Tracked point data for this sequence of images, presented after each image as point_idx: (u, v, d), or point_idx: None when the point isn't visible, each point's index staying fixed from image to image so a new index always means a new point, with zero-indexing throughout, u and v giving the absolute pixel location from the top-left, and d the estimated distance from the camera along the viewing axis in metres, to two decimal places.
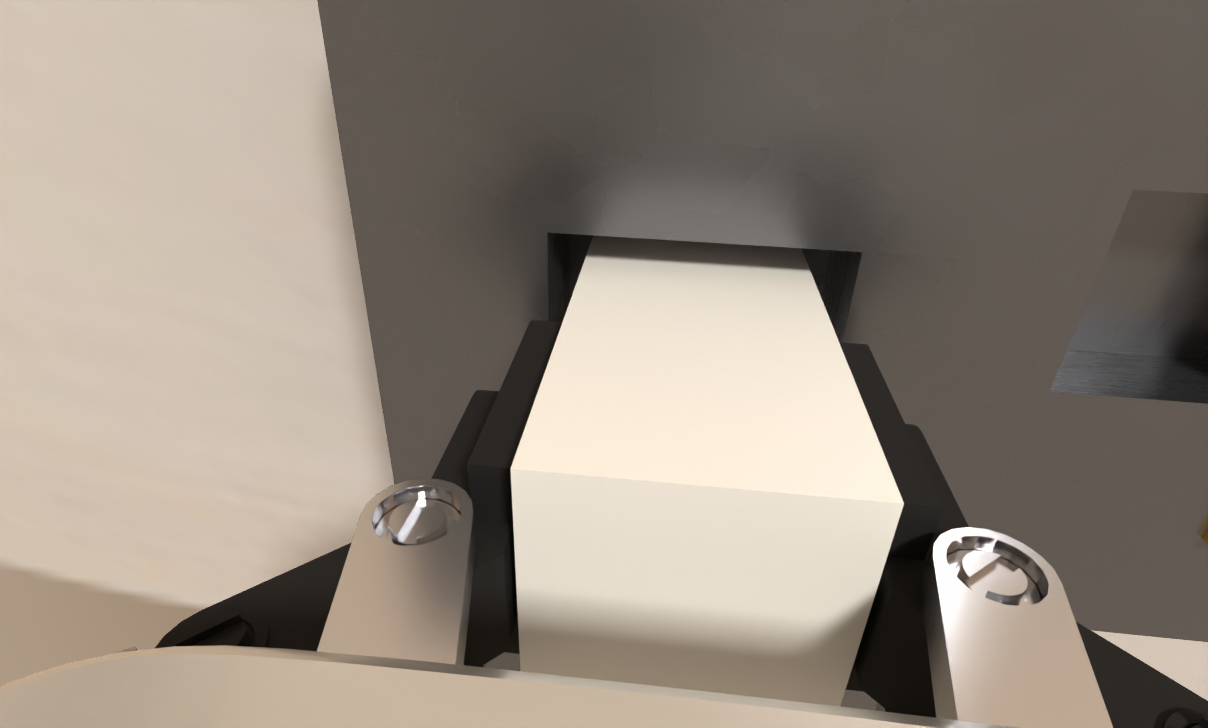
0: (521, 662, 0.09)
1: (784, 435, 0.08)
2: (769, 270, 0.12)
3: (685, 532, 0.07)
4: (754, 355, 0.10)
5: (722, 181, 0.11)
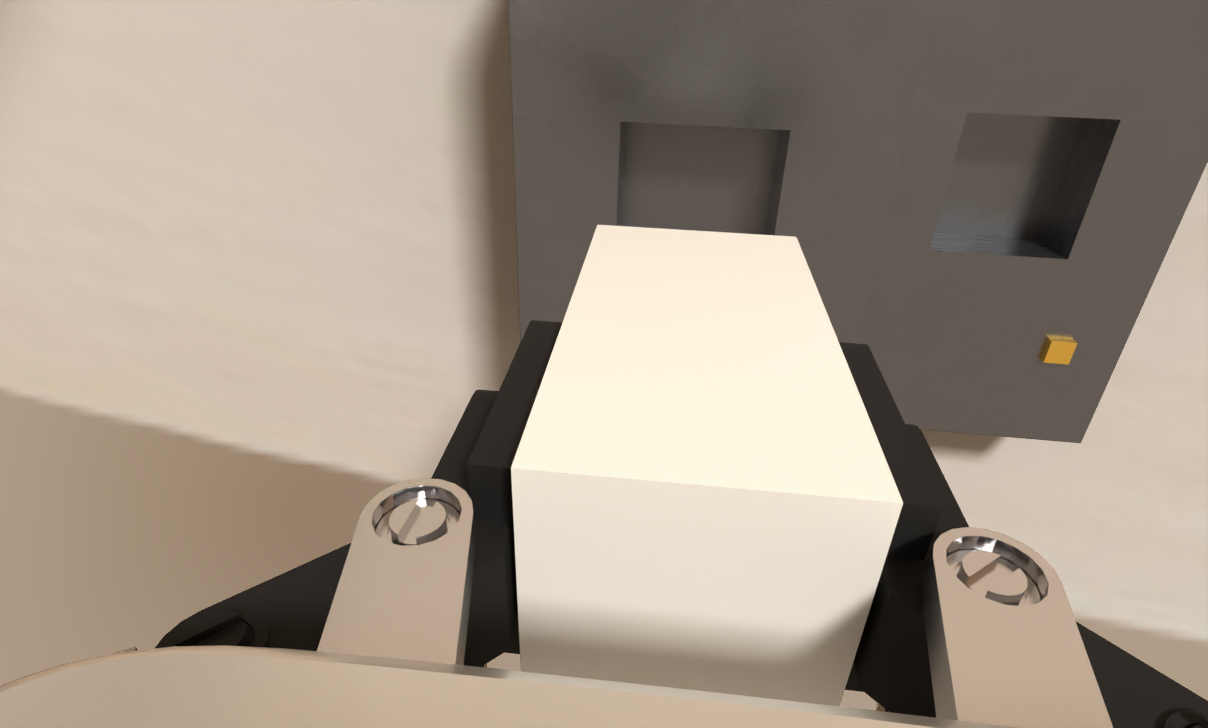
0: (521, 661, 0.09)
1: (784, 434, 0.08)
2: (769, 270, 0.12)
3: (685, 532, 0.07)
4: (754, 355, 0.10)
5: (715, 90, 0.21)
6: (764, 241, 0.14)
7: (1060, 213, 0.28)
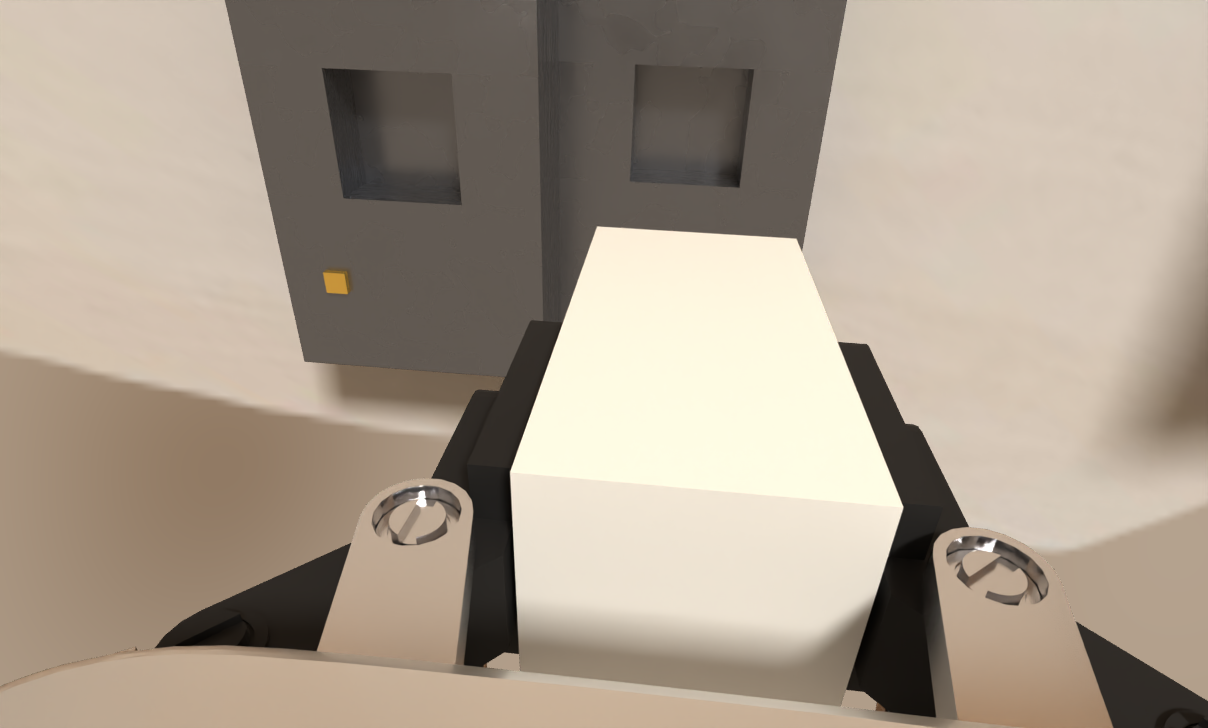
0: (521, 665, 0.09)
1: (784, 439, 0.08)
2: (769, 272, 0.12)
3: (685, 536, 0.07)
4: (753, 358, 0.10)
5: (388, 42, 0.27)
6: (764, 243, 0.14)
7: (740, 151, 0.34)
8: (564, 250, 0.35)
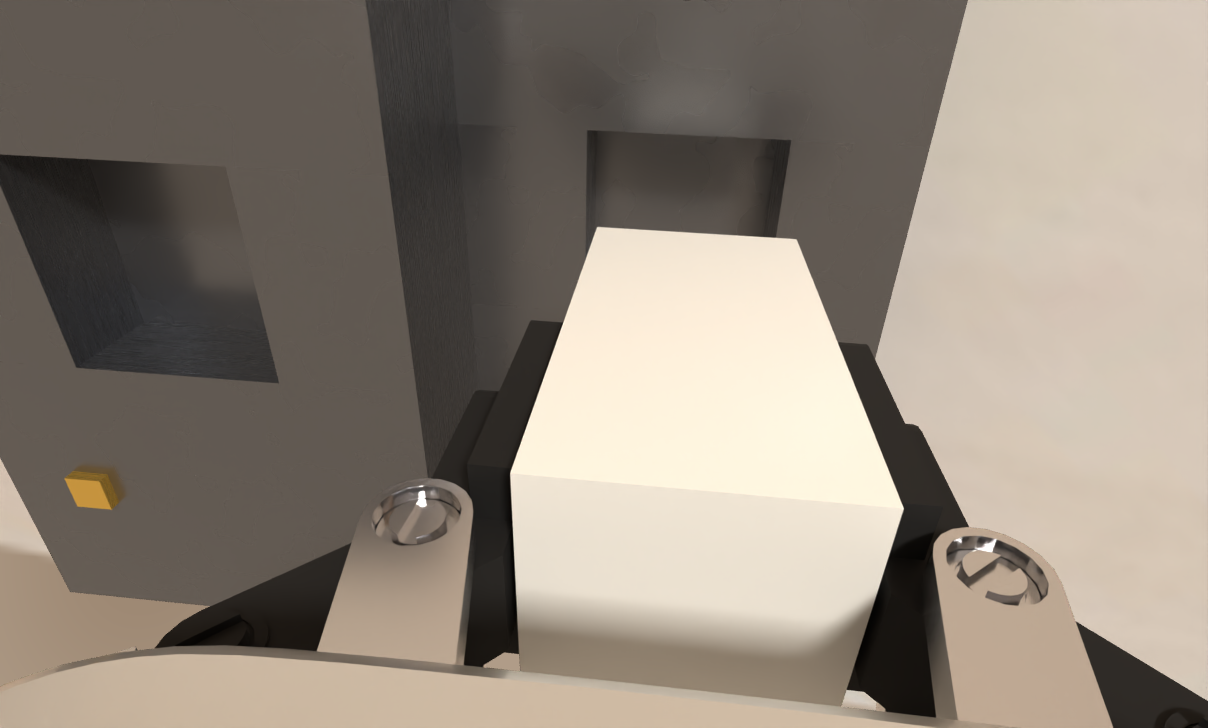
0: (521, 666, 0.09)
1: (784, 439, 0.08)
2: (769, 272, 0.12)
3: (685, 537, 0.07)
4: (754, 358, 0.10)
5: (97, 108, 0.14)
6: (764, 244, 0.14)
7: None
8: None
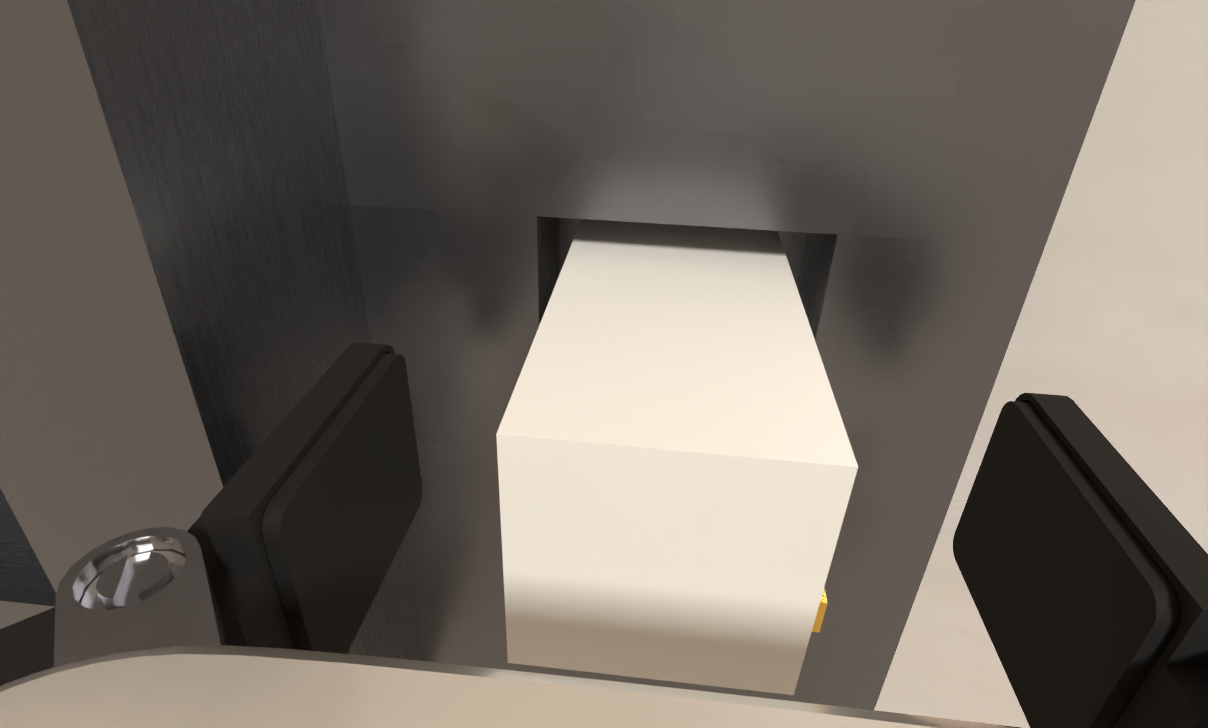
0: (507, 620, 0.09)
1: (752, 406, 0.09)
2: (747, 255, 0.13)
3: (658, 495, 0.08)
4: (728, 334, 0.10)
5: None
6: (744, 229, 0.14)
7: None
8: (415, 561, 0.17)
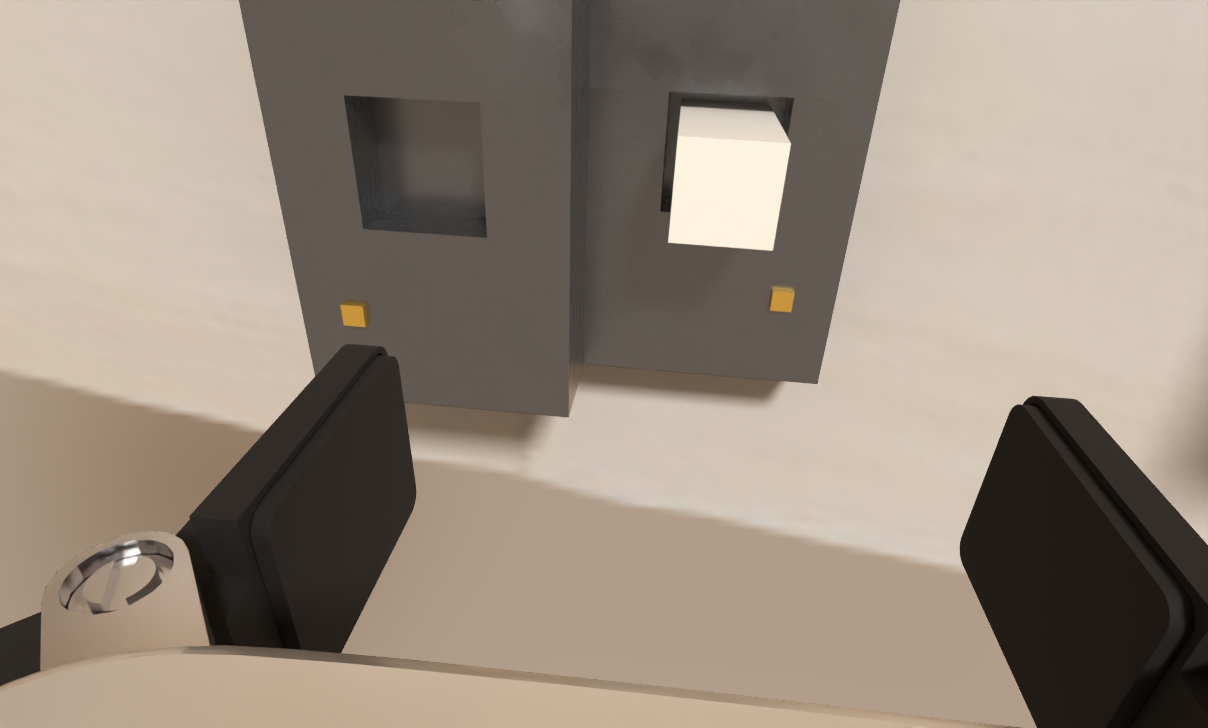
0: (670, 220, 0.26)
1: (758, 135, 0.26)
2: (757, 111, 0.30)
3: (728, 158, 0.25)
4: (750, 125, 0.27)
5: (413, 69, 0.25)
6: (755, 105, 0.31)
7: None
8: (589, 280, 0.34)
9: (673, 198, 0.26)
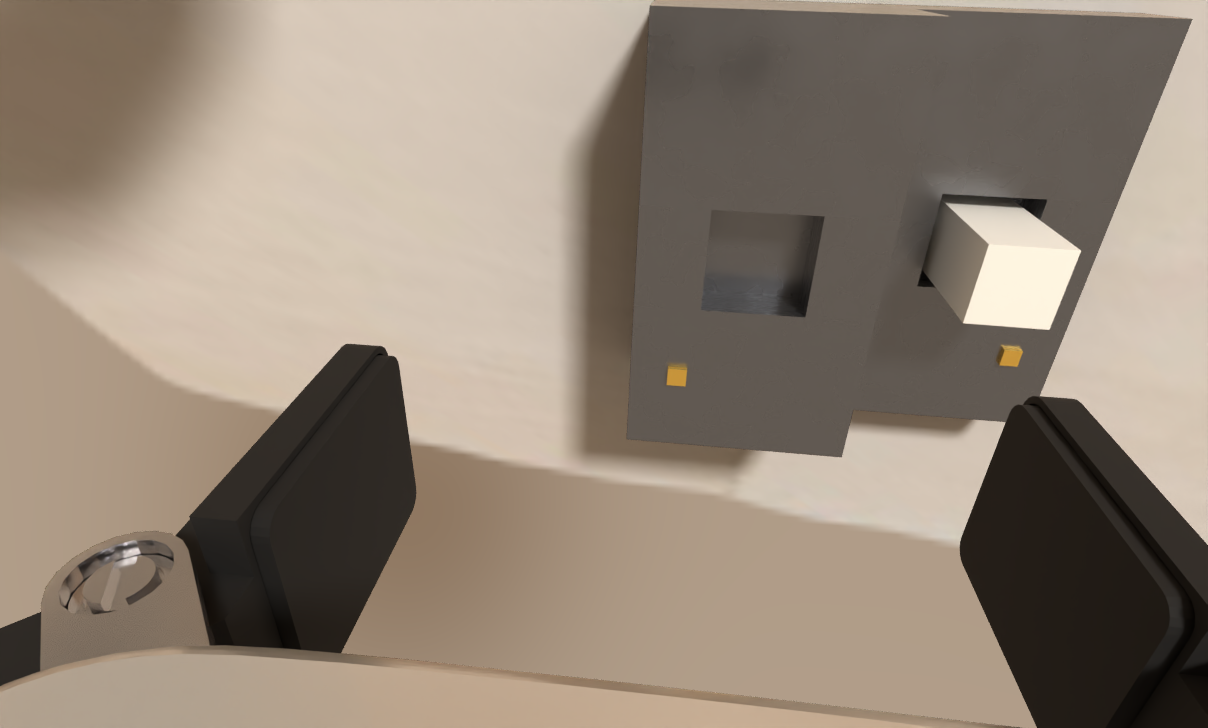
0: (969, 306, 0.33)
1: (1046, 241, 0.32)
2: (1010, 208, 0.37)
3: (1027, 261, 0.32)
4: (1025, 227, 0.34)
5: (775, 191, 0.32)
6: (1000, 199, 0.38)
7: None
8: None
9: (975, 290, 0.33)
